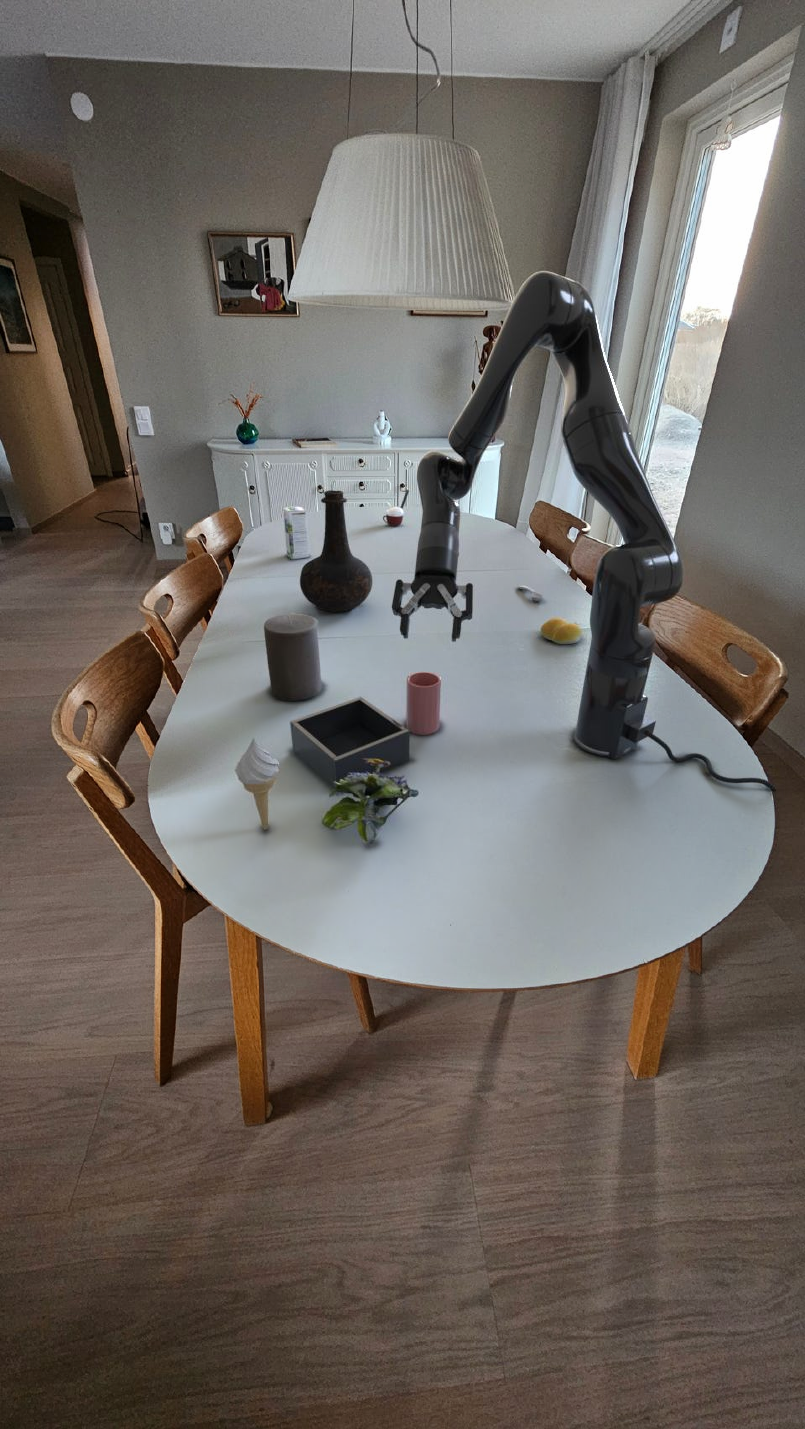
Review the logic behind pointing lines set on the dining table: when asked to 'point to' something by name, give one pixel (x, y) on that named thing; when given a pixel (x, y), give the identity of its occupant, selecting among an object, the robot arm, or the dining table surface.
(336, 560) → the glass bottle
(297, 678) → the pillar candle
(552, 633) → the bread roll
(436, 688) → the cup
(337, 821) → the passion flower
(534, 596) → the spoon
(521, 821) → the dining table surface
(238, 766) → the ice cream cone
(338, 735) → the dark grey open box
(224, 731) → the dining table surface
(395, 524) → the cocoa
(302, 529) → the syrup box
